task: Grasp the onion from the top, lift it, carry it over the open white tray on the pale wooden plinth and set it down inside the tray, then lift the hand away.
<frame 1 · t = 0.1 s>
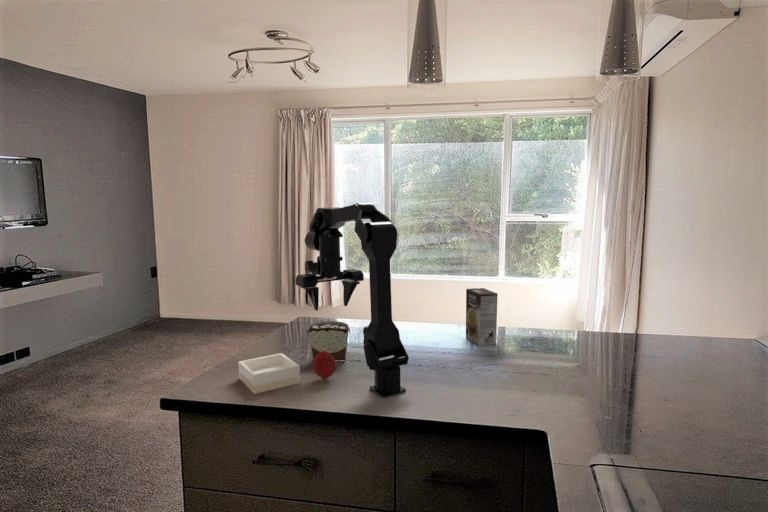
hand: (331, 308, 137), 15 cm above the worktop, tool pointing down, fingers open, 9 cm apart
food container: (331, 358, 139), on the worktop
coffee box: (480, 341, 154), on the worktop
onion: (324, 380, 123), on the worktop
open white tray: (269, 380, 122), on the worktop
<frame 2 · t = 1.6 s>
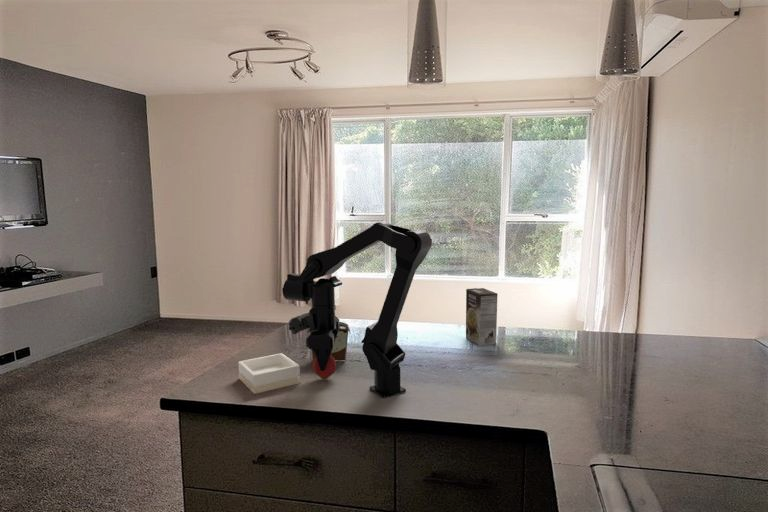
hand: (324, 364, 122), 4 cm above the worktop, tool pointing down, fingers open, 9 cm apart
nothing on the worktop moved.
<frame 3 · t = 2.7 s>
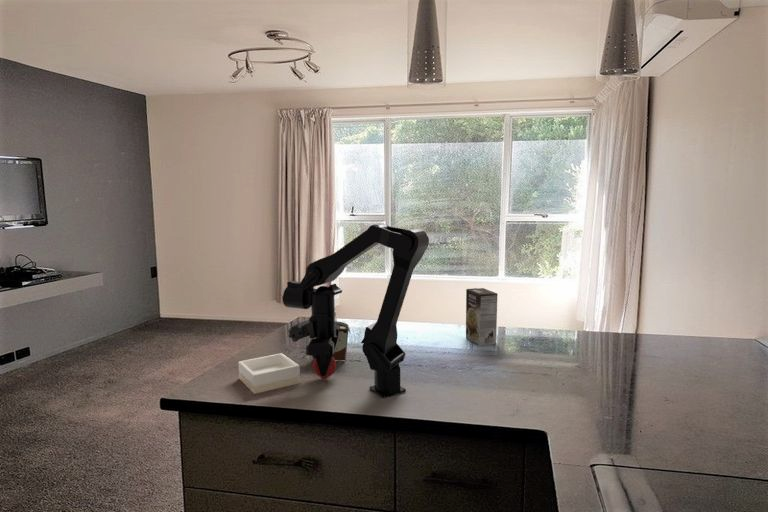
hand: (324, 371, 123), 2 cm above the worktop, tool pointing down, fingers closed on onion, 6 cm apart
onion: (324, 380, 123), on the worktop, touching gripper
everything else where it was.
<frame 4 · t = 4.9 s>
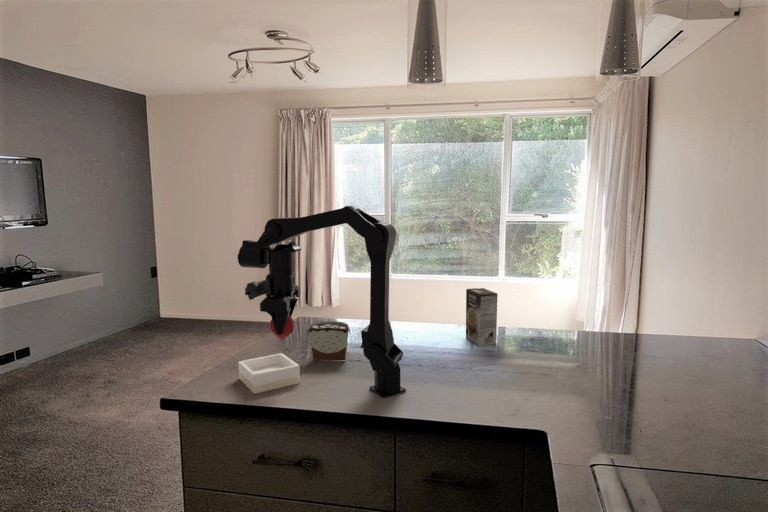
hand: (282, 331, 121), 13 cm above the worktop, tool pointing down, fingers closed on onion, 6 cm apart
onion: (282, 340, 121), point 10 cm above the worktop, touching gripper
everything else where it was.
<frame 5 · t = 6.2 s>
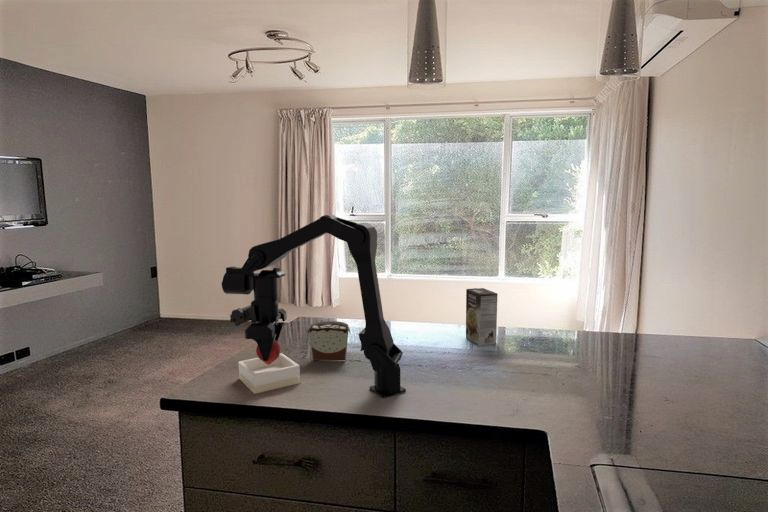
hand: (268, 356, 121), 6 cm above the worktop, tool pointing down, fingers closed on onion, 6 cm apart
onion: (269, 365, 122), point 4 cm above the worktop, touching gripper
everything else where it was.
when the fingers open (5 cm above the worktop, at t = 7.2 s): onion drops 1 cm, resting on open white tray.
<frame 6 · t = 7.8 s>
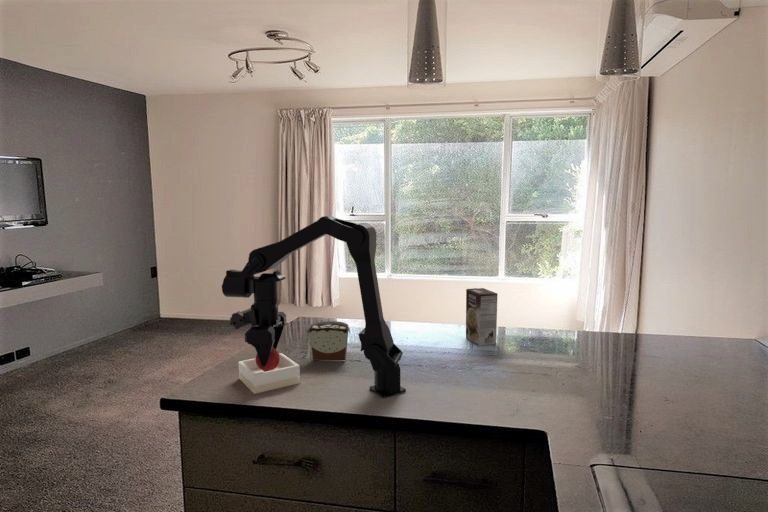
hand: (268, 359, 121), 5 cm above the worktop, tool pointing down, fingers open, 9 cm apart
onion: (269, 373, 122), point 2 cm above the worktop, touching open white tray
everything else where it was.
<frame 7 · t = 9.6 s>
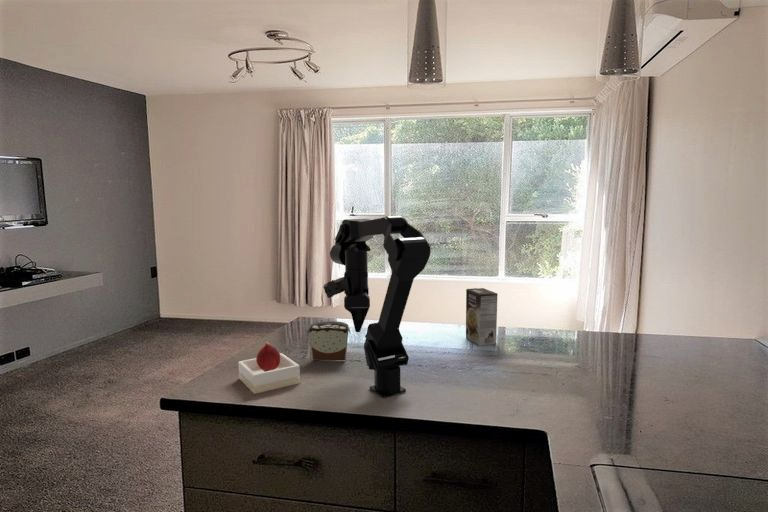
hand: (357, 327, 127), 12 cm above the worktop, tool pointing down, fingers open, 9 cm apart
nothing on the worktop moved.
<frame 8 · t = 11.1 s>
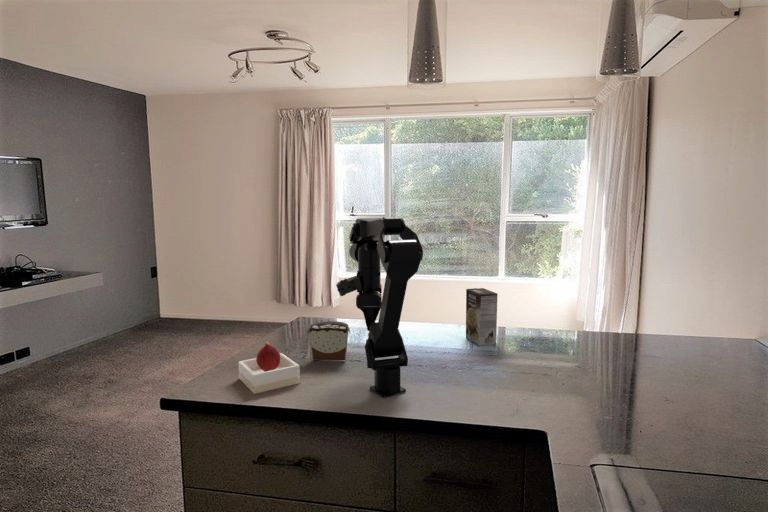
hand: (370, 325, 128), 12 cm above the worktop, tool pointing down, fingers open, 9 cm apart
nothing on the worktop moved.
at the end: onion 0.1 cm off-centre on the open white tray, point 1.8 cm above the open white tray's base; the gripper is holding nothing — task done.
